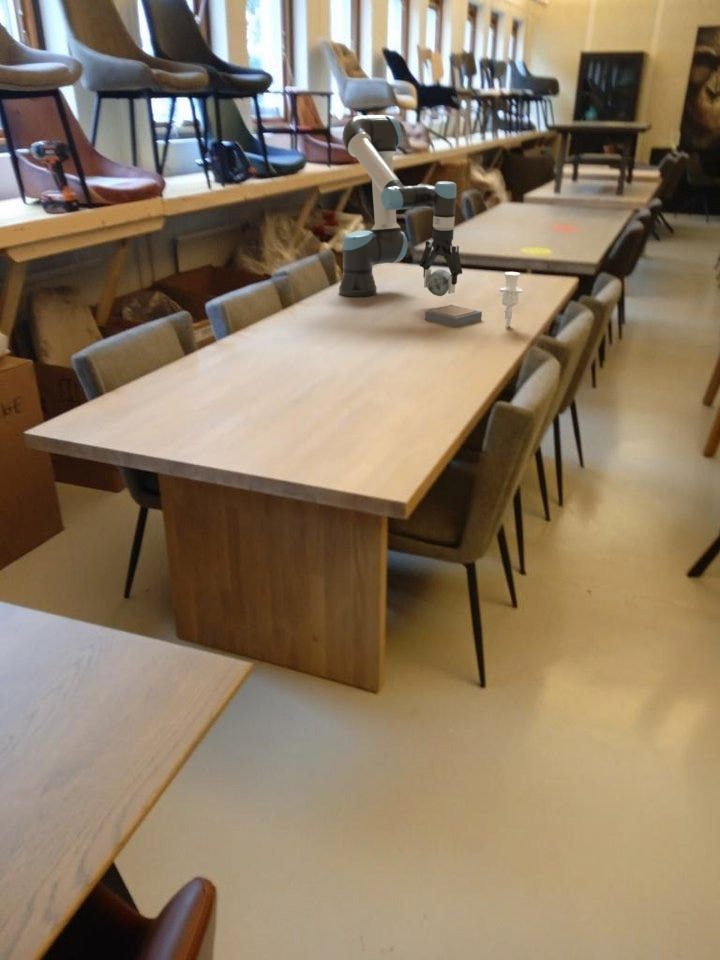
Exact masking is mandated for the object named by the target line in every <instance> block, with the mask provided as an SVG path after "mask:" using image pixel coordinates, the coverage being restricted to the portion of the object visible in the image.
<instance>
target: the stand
mask: <svg viewBox="0 0 720 960" xmlns="http://www.w3.org/2000/svg"><path fill="white" fill-rule="evenodd" d="M482 314H483V311H480V310H476V309H473V308H472V309H471V308H467V307H463V306H458V305H453V304H448V305H445V306H441V307H438V308H433V309H429V310H426V311H424V320H425V321H428V322H432V323H436V324H439V325H444V326H448V327H449V326H450V327H453V328H458V327H461V326H466V325H468V324H472V323H476V322H479V321H482Z"/></svg>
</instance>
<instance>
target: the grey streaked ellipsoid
mask: <svg viewBox="0 0 720 960" xmlns="http://www.w3.org/2000/svg"><path fill="white" fill-rule="evenodd" d="M450 275H451V272H450V271H449V272H448V270H446V269H439V268H438V269H436V270H434V271H433V272H431V275H430V277H429V279H428V282H427V287H426V288H427V290H428V291H429V292H430V293H432V295H434V296H437V297H442V296H444V295H446V294H448V290H449V276H450Z"/></svg>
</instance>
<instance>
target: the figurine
mask: <svg viewBox="0 0 720 960" xmlns="http://www.w3.org/2000/svg"><path fill="white" fill-rule="evenodd" d="M520 275H521V272H517V271H505V272H504V276H505V284H504V285H505V286H502V287H500V288H499V289H498V291H499V292H500V293H502V297H501V299H500V301H501V304H502V305H503V306H505V307H506V308H505V310H504V311H503V312H504V319H505V325H504V327H506V328H509V327H510V325H511V321H512V317H513V307H515V306H516V305H517V304H518V303H519V301H520V300H519V295H518V294H521V293H523V289H522V288H521V287H518V281H519V277H520Z"/></svg>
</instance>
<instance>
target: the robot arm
mask: <svg viewBox="0 0 720 960" xmlns="http://www.w3.org/2000/svg"><path fill="white" fill-rule="evenodd" d="M402 137H403V136H402V128H401V125H400V123H399V121H398V120H397V119H396V118H395V117H394V116H392V115H385V114H380V115H379V114H375V115H374V114H373V115H371V114H370V115H367V114H365V115H362V114H361V115H359V114H358V115H355V116H353V117H351V118H350V119H349V120H348V121H347V122H346V124H345V125H344V128H343V131H342V142H343V145H344V148H345V150H347V152H348V155H350V156H351V157H354V158H355V159H356V160H357V162H359V164H360V165H361V167H362V168H363V169H364V170H365V172H366V173H367V175H368V177H369V178H370V179H371V186H372V200H373V202H372V203H373V214H374V215H373V216H374V225H373V226H372V227H371V230H356V231H355V230H354V231H352V232H349V233H347V234H345V235H344V236H343V239H342V264H343V265H342V269H343V270H342V273H343V274H342V277H341V281H340V285H339V286H338V293H339V295H341V296H345V297H346V296H347V297H353V298H362V297H370V296H374V295H377V285H376V282H375V279H374V275H373V265H381V264H393V263H397V262H401V261H402V260H403V259H404V257H405V256H406V254H407V250H408V238H407V235H406V234H405V232H403V231H401V225H399V223H398V222H397V211H398V210H400V211H401V210H409V209H421V208H422V209H423V208H428V209H433V214H432V215H433V217H432V227H433V229H432V231H431V232H432V234H431V239H432V240H427V241H425V247H424V250H423V253H422V257H421V260H420V261H419V267H421V268H422V269H423V276H422V277H423V278H424V280H423V283H424V284H423V288H427V282H428V279H429V277H430V275H431V274H432V268H431V266H432V264H433V263H434V261H435V260H436V258H437V257H438V256H441V257H443V258H444V259H445V261H446V263H447V264H446V265H447V267H448V270H449V273H450V274H451V275H450V276H449V289H448V291H447V294H448V295H450V294H451V295H452V294H454V293H455V292H456V285H457V283H458V276H459V275H462V274H463V268H462V263H461V258H460V254H459V253H460V251H459V249H460V246H459V245H453V244H452V243H453V240H454V227H455V219H456V218H455V217H456V216H455V215H456V203H457V195H458V194H457V183H455V182H453V181H436V183H435V184H434V185H431V184H429V183H419V184H417V185H404V184H403V183H402V182H401V181H400V179H399V178H398V176H397V175H396V174H395V173H394V156H395V155H396V154H397V148H398V147H399V146H400V145H401V141H402Z"/></svg>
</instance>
